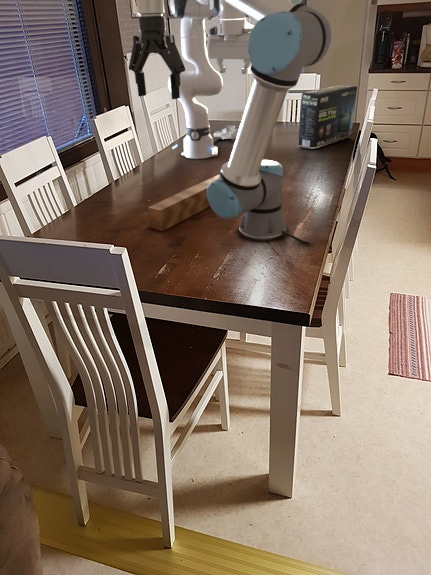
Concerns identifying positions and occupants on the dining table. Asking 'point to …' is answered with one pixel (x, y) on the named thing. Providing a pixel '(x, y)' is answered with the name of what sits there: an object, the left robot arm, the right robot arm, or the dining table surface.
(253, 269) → the dining table surface
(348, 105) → the router box
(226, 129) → the fossil
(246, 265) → the dining table surface
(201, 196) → the bar
